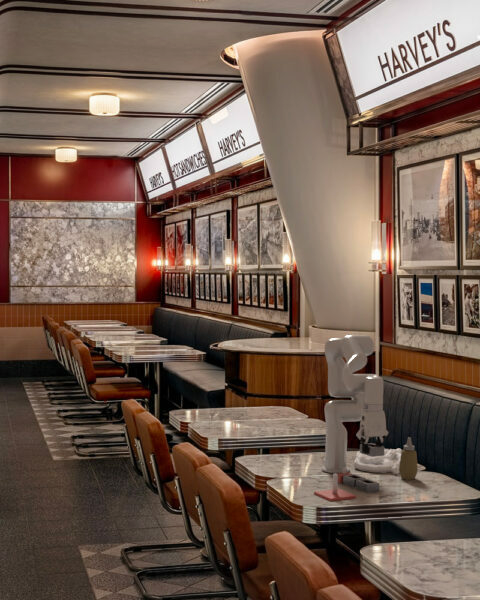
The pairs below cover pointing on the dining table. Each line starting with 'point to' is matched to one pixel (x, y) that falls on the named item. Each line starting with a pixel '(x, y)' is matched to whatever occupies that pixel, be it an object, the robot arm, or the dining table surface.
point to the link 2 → (367, 485)
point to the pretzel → (379, 462)
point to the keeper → (334, 492)
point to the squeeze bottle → (408, 461)
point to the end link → (373, 450)
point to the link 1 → (351, 480)
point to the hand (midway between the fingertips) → (371, 452)
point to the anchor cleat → (340, 476)
